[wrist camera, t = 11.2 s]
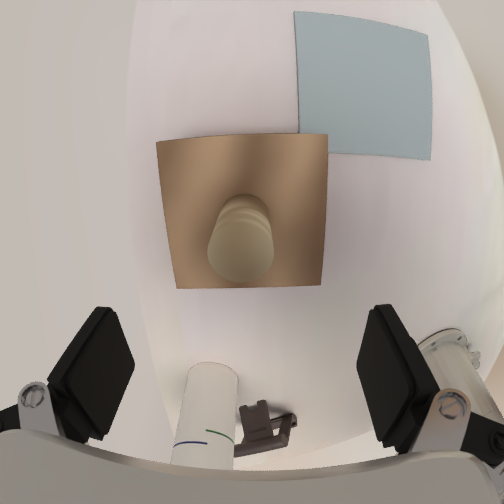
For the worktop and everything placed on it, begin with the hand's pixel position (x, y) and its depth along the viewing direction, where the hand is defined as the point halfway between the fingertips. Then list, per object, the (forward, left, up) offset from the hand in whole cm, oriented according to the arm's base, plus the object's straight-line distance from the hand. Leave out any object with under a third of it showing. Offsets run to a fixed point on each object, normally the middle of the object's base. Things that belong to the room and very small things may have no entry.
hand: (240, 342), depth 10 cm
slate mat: (-12, -11, -19) cm, 25 cm away
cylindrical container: (+6, +26, -20) cm, 33 cm away
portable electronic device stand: (-1, +36, -20) cm, 41 cm away
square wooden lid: (0, 0, -13) cm, 13 cm away
